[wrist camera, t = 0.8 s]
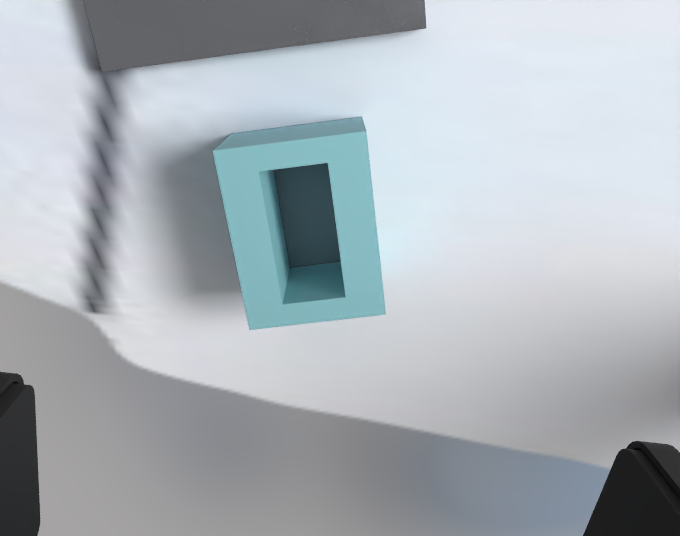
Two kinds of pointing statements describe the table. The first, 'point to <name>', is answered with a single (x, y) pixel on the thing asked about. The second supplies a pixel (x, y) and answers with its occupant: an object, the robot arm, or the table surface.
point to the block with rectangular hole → (268, 234)
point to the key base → (234, 26)
